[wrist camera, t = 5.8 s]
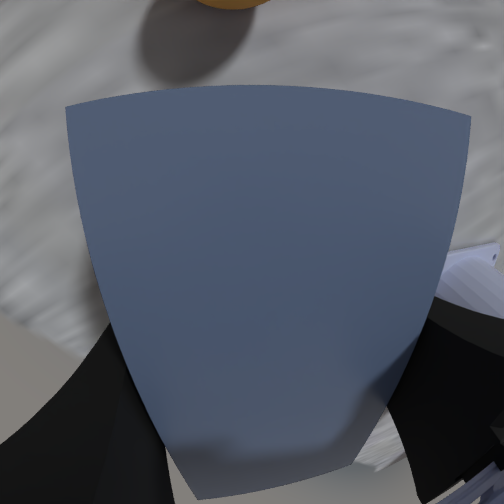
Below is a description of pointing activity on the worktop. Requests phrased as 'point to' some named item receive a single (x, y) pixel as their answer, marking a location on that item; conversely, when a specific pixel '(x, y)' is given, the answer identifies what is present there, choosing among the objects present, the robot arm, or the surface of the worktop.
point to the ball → (233, 3)
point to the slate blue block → (266, 263)
